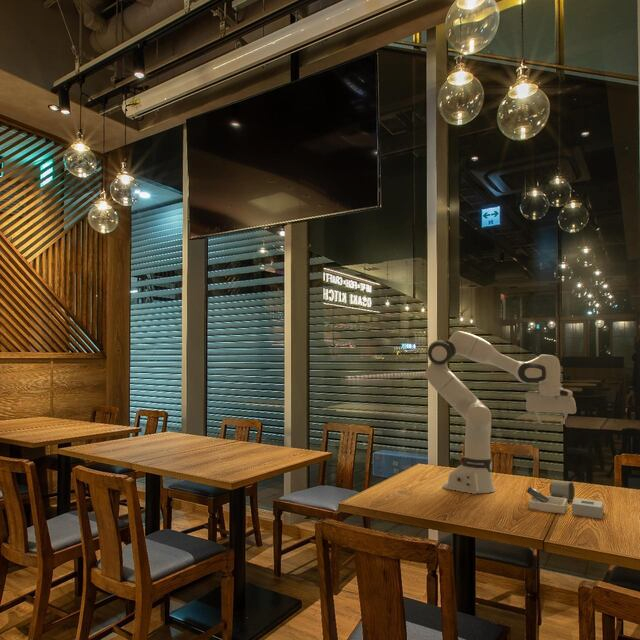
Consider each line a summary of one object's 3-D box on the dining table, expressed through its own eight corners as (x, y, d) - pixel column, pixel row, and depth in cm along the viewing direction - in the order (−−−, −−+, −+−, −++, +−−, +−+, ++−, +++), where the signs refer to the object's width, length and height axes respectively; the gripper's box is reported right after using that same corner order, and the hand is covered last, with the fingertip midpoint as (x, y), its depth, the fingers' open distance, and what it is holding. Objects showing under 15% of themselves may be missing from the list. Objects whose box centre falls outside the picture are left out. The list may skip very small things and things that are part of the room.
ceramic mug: (555, 495, 224) (554, 477, 225) (575, 499, 218) (574, 480, 219) (545, 500, 217) (545, 481, 217) (566, 504, 211) (565, 485, 212)
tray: (528, 508, 203) (528, 501, 204) (533, 501, 214) (533, 494, 214) (564, 514, 197) (563, 506, 197) (567, 506, 208) (567, 498, 208)
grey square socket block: (572, 514, 197) (571, 503, 197) (574, 508, 205) (574, 497, 206) (602, 518, 192) (601, 507, 192) (603, 512, 200) (603, 501, 200)
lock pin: (544, 504, 205) (526, 491, 210) (544, 505, 208) (527, 492, 212) (548, 498, 205) (530, 485, 210) (549, 499, 208) (531, 486, 213)
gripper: (523, 390, 230) (524, 422, 229) (574, 392, 220) (575, 425, 219) (526, 390, 236) (527, 420, 235) (576, 391, 225) (577, 423, 224)
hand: (551, 423), depth 227 cm, fingers open, 8 cm apart
